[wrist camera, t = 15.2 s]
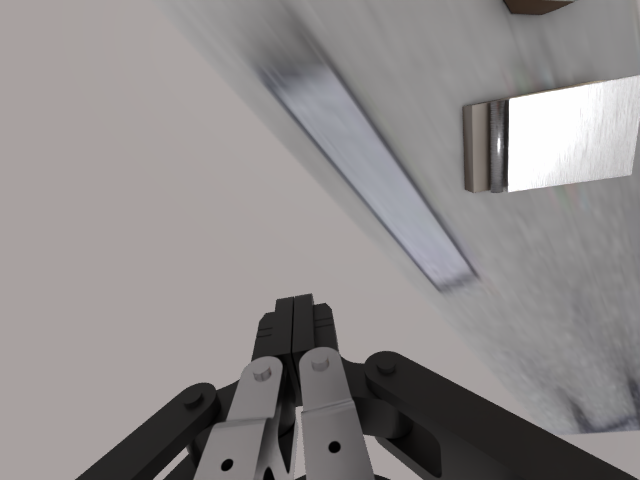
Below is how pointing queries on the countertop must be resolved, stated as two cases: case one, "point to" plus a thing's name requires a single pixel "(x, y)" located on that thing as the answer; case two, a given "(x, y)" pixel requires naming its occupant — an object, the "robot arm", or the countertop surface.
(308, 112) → the countertop surface
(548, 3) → the beer bottle
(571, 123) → the slab
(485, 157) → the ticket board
